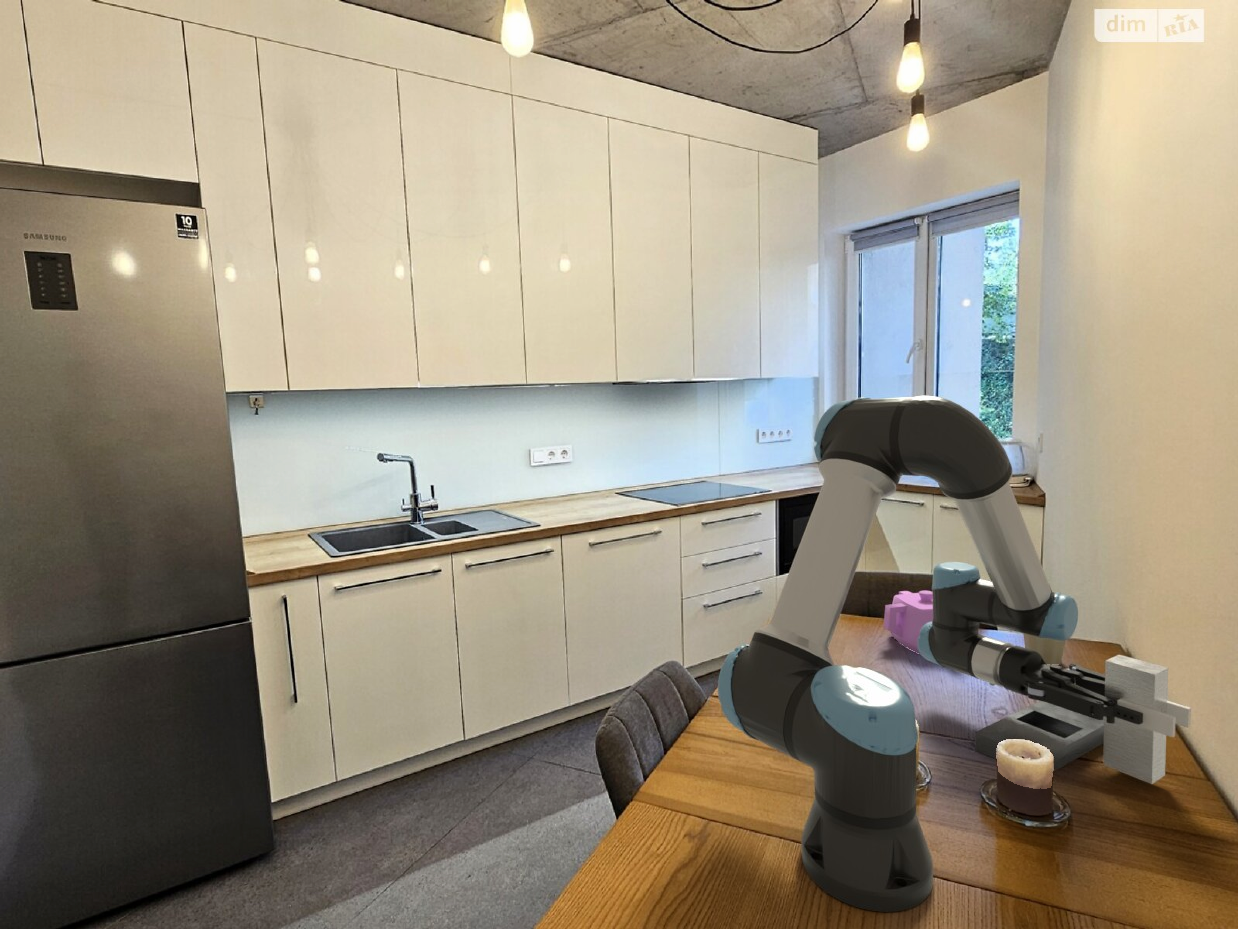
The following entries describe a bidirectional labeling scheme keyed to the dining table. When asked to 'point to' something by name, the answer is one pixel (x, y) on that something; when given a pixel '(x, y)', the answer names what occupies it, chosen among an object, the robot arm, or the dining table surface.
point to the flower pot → (1045, 648)
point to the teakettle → (908, 616)
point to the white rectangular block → (1126, 741)
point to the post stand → (1045, 732)
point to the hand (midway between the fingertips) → (1181, 722)
